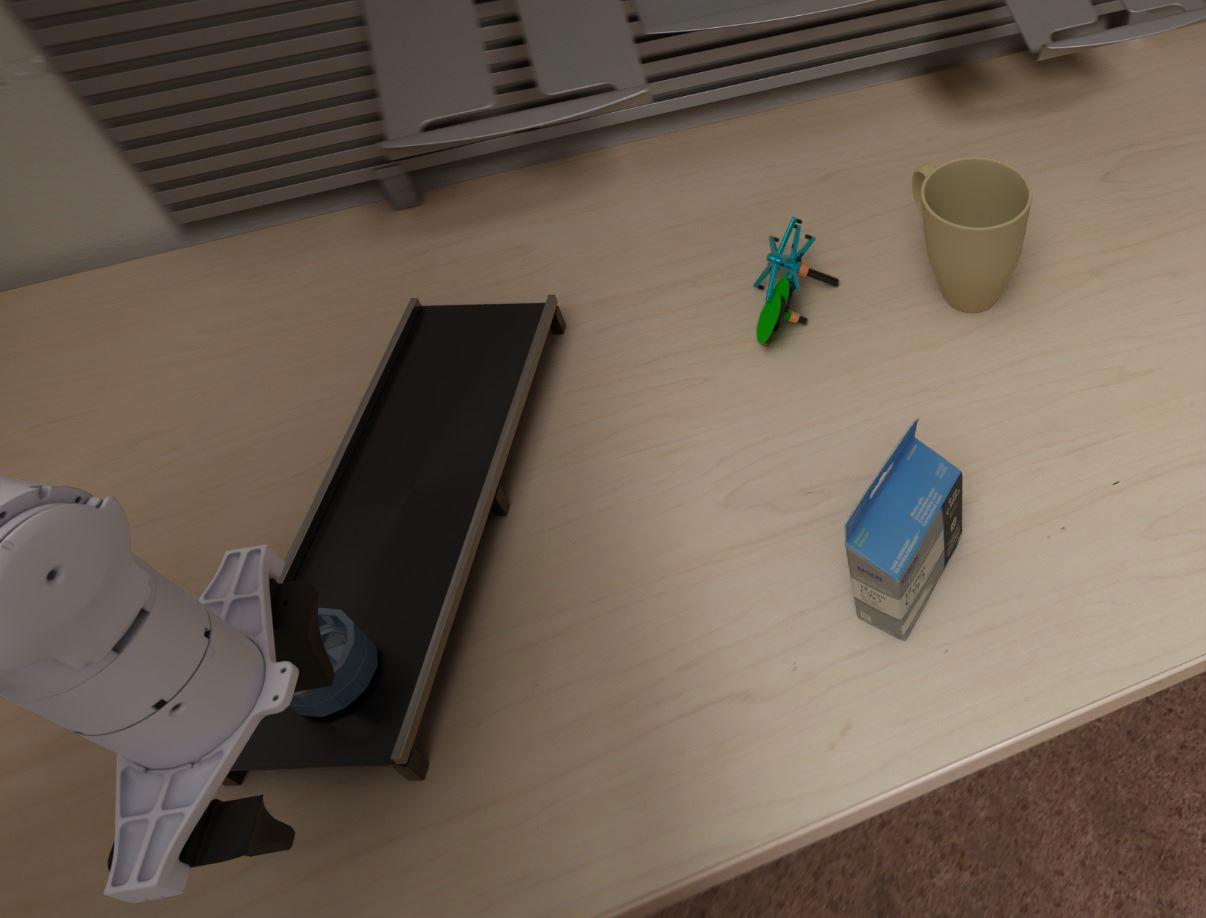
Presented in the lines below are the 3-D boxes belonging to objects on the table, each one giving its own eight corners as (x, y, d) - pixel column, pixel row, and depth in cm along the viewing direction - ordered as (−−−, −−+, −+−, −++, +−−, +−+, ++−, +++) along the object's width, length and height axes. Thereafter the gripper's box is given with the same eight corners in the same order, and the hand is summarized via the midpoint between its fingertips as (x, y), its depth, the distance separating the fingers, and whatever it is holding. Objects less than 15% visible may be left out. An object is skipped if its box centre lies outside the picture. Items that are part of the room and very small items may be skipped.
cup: (321, 737, 55) (289, 712, 52) (276, 686, 57) (243, 660, 55) (397, 667, 58) (370, 639, 55) (352, 621, 60) (324, 592, 57)
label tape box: (904, 645, 62) (901, 554, 53) (851, 615, 63) (840, 522, 54) (963, 536, 67) (970, 438, 58) (913, 512, 69) (912, 412, 60)
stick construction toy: (757, 232, 87) (795, 199, 81) (822, 258, 90) (864, 228, 84) (732, 352, 81) (771, 326, 75) (803, 375, 84) (846, 352, 78)
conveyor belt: (426, 780, 56) (400, 758, 53) (222, 785, 56) (185, 763, 53) (567, 325, 82) (555, 294, 79) (428, 328, 82) (410, 297, 79)
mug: (1029, 259, 87) (1041, 158, 79) (1012, 339, 80) (1023, 237, 72) (915, 240, 89) (914, 139, 81) (888, 316, 82) (885, 215, 74)
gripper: (172, 844, 34) (340, 912, 44) (287, 489, 44) (403, 609, 54) (-39, 882, 33) (180, 942, 43) (127, 513, 43) (274, 630, 53)
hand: (294, 759), depth 48 cm, fingers open, 7 cm apart
